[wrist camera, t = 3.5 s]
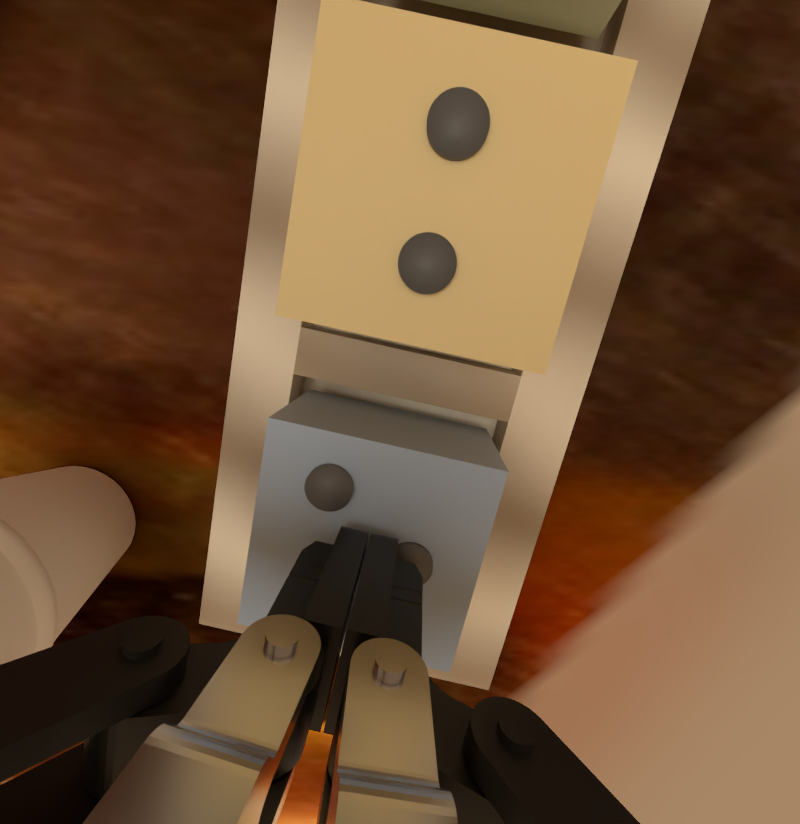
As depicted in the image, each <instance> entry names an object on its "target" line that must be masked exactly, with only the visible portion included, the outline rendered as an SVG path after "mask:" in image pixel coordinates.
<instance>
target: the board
mask: <svg viewBox="0 0 800 824" xmlns="http://www.w3.org/2000/svg"><path fill="white" fill-rule="evenodd" d="M360 1H365V2H369V3H374V4H379V5H383V6H388V7H393V8H397V9H402V10H406V11H411V12H416V13H420V14H425V15H430V16H434V17H439V18H443V19H448V20H453V21H457V22H462V23H466V24H471V25H476V26H480V27H485V28H490V29H494V30H499V31H503V32H508V33H513V34H517V35H522V36H526V37H531V38H536V39H540V40H545V41H550V42H554V43H559V44H563V45H568V46H573V47H577V48H582V49H586V50H591V51H596V52H600V53H605V54H610V55H614V56H619V57H623V58H628V59H633V60H637V61H638V63H637V66H636V70H635V73H634V77H633V80H632V83H631V87H630V90H629V93H628V97H627V100H626V103H625V107H624V110H623V114H622V117H621V120H620V124H619V127H618V130H617V134H616V137H615V141H614V144H613V147H612V151H611V154H610V157H609V161H608V164H607V167H606V171H605V174H604V178H603V181H602V184H601V188H600V191H599V194H598V198H597V201H596V204H595V208H594V211H593V215H592V218H591V221H590V225H589V228H588V231H587V235H586V238H585V241H584V245H583V248H582V252H581V255H580V258H579V262H578V265H577V268H576V272H575V275H574V278H573V282H572V285H571V289H570V292H569V295H568V299H567V302H566V305H565V309H564V312H563V316H562V319H561V322H560V326H559V329H558V332H557V336H556V339H555V342H554V346H553V349H552V353H551V356H550V359H549V363H548V366H547V369H546V373H545V375H541V374H537V373H532V372H528V371H523V370H519V369H514V368H510V367H505V366H501V365H496V364H492V363H488V362H483V361H479V360H474V359H470V358H465V357H461V356H456V355H452V354H447V353H443V352H438V351H434V350H429V349H425V348H420V347H416V346H411V345H407V344H403V343H398V342H394V341H389V340H385V339H380V338H376V337H371V336H367V335H362V334H358V333H353V332H349V331H344V330H340V329H335V328H331V327H327V326H322V325H318V324H313V323H309V322H304V321H300V320H295V319H291V318H286V317H282V316H277V315H275V313H276V306H277V299H278V292H279V285H280V278H281V271H282V265H283V258H284V251H285V244H286V237H287V230H288V223H289V217H290V210H291V203H292V196H293V189H294V182H295V175H296V168H297V162H298V155H299V148H300V141H301V134H302V127H303V120H304V114H305V107H306V100H307V93H308V86H309V79H310V72H311V65H312V59H313V52H314V45H315V38H316V31H317V24H318V17H319V11H320V4H321V0H277V8H276V16H275V24H274V32H273V40H272V48H271V56H270V64H269V72H268V80H267V88H266V96H265V103H264V111H263V119H262V127H261V135H260V143H259V151H258V159H257V167H256V175H255V183H254V191H253V199H252V207H251V215H250V223H249V230H248V238H247V246H246V254H245V262H244V270H243V278H242V286H241V294H240V302H239V310H238V318H237V326H236V334H235V342H234V350H233V357H232V365H231V373H230V381H229V389H228V397H227V405H226V413H225V421H224V429H223V437H222V445H221V453H220V461H219V469H218V477H217V484H216V492H215V500H214V508H213V516H212V524H211V532H210V540H209V548H208V556H207V564H206V572H205V580H204V588H203V596H202V604H201V611H200V619H199V624H203V625H208V626H212V627H216V628H221V629H225V630H229V631H234V632H238V633H242V634H243V632H244V631H245V630H246V629H247V628H248V626H245V625H241V624H237V622H238V616H239V609H240V602H241V596H242V589H243V582H244V576H245V569H246V562H247V556H248V549H249V542H250V536H251V529H252V522H253V516H254V509H255V502H256V496H257V489H258V482H259V476H260V469H261V463H262V456H263V449H264V443H265V436H266V429H267V423H268V417H270V416H271V415H273V414H274V413H276V412H277V411H279V410H280V409H282V408H283V407H285V406H286V405H288V404H289V403H291V402H292V401H294V400H296V399H297V398H299V397H300V396H302V395H303V394H305V393H306V392H308V391H309V390H315V391H320V392H324V393H329V394H333V395H337V396H342V397H346V398H351V399H355V400H360V401H364V402H369V403H373V404H378V405H382V406H386V407H391V408H395V409H400V410H404V411H409V412H413V413H418V414H422V415H426V416H431V417H435V418H440V419H444V420H449V421H453V422H458V423H462V424H466V425H471V426H475V427H480V428H484V429H487V431H488V433H489V435H490V437H491V439H492V441H493V443H494V444H495V446H496V448H497V450H498V452H499V454H500V456H501V458H502V460H503V462H504V464H505V466H506V468H507V469H508V471H509V473H508V476H507V479H506V483H505V486H504V490H503V493H502V496H501V500H500V503H499V507H498V510H497V514H496V517H495V520H494V524H493V527H492V531H491V534H490V537H489V541H488V544H487V548H486V551H485V555H484V558H483V561H482V565H481V568H480V572H479V575H478V578H477V582H476V585H475V589H474V592H473V595H472V599H471V602H470V606H469V609H468V613H467V616H466V619H465V623H464V626H463V630H462V633H461V636H460V640H459V643H458V647H457V650H456V654H455V657H454V660H453V664H452V667H451V671H450V673H449V672H445V671H441V670H436V669H432V668H428V667H427V670H428V676H429V677H433V678H438V679H442V680H446V681H451V682H455V683H459V684H464V685H468V686H472V687H477V688H481V689H485V690H489V687H490V684H491V681H492V678H493V675H494V672H495V669H496V665H497V662H498V659H499V656H500V653H501V650H502V647H503V644H504V641H505V638H506V634H507V631H508V628H509V625H510V622H511V619H512V616H513V613H514V610H515V606H516V603H517V600H518V597H519V594H520V591H521V588H522V585H523V582H524V578H525V575H526V572H527V569H528V566H529V563H530V560H531V557H532V554H533V550H534V547H535V544H536V541H537V538H538V535H539V532H540V529H541V526H542V523H543V519H544V516H545V513H546V510H547V507H548V504H549V501H550V498H551V495H552V491H553V488H554V485H555V482H556V479H557V476H558V473H559V470H560V467H561V463H562V460H563V457H564V454H565V451H566V448H567V445H568V442H569V439H570V435H571V432H572V429H573V426H574V423H575V420H576V417H577V414H578V411H579V407H580V404H581V401H582V398H583V395H584V392H585V389H586V386H587V383H588V380H589V376H590V373H591V370H592V367H593V364H594V361H595V358H596V355H597V352H598V348H599V345H600V342H601V339H602V336H603V333H604V330H605V327H606V324H607V320H608V317H609V314H610V311H611V308H612V305H613V302H614V299H615V296H616V292H617V289H618V286H619V283H620V280H621V277H622V274H623V271H624V268H625V265H626V261H627V258H628V255H629V252H630V249H631V246H632V243H633V240H634V237H635V233H636V230H637V227H638V224H639V221H640V218H641V215H642V212H643V209H644V205H645V202H646V199H647V196H648V193H649V190H650V187H651V184H652V181H653V177H654V174H655V171H656V168H657V165H658V162H659V159H660V156H661V153H662V149H663V146H664V143H665V140H666V137H667V134H668V131H669V128H670V125H671V122H672V118H673V115H674V112H675V109H676V106H677V103H678V100H679V97H680V94H681V90H682V87H683V84H684V81H685V78H686V75H687V72H688V69H689V66H690V62H691V59H692V56H693V53H694V50H695V47H696V44H697V41H698V38H699V34H700V31H701V28H702V25H703V22H704V19H705V16H706V13H707V10H708V6H709V3H710V0H622V1H621V2H620V4H619V5H618V7H617V9H616V10H615V12H614V13H613V15H612V17H611V18H610V20H609V21H608V23H607V25H606V26H605V28H604V29H603V31H602V33H601V34H600V36H599V37H598V39H597V38H592V37H587V36H583V35H578V34H574V33H569V32H564V31H560V30H555V29H551V28H546V27H541V26H537V25H532V24H527V23H523V22H518V21H514V20H509V19H504V18H500V17H495V16H490V15H486V14H481V13H477V12H472V11H467V10H463V9H458V8H453V7H449V6H444V5H440V4H435V3H430V2H426V1H421V0H360ZM341 652H342V649H341ZM341 652H340V656H341Z"/></svg>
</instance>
